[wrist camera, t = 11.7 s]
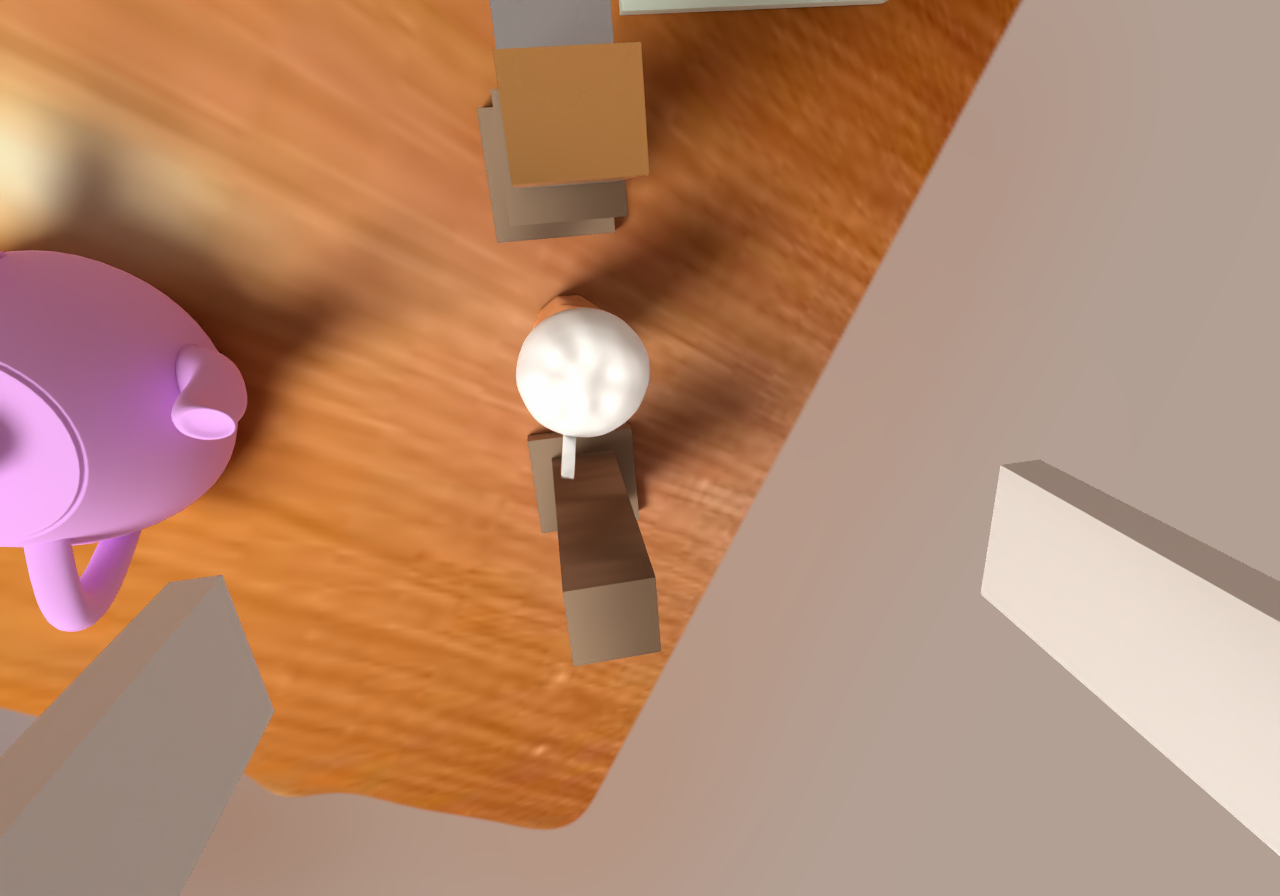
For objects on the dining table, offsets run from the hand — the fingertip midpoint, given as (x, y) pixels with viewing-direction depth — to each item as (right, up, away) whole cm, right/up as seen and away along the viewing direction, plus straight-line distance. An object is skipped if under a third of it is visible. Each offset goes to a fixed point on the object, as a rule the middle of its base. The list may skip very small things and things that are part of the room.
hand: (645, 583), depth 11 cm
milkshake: (-3, +8, +18) cm, 20 cm away
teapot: (-23, +5, +16) cm, 28 cm away
